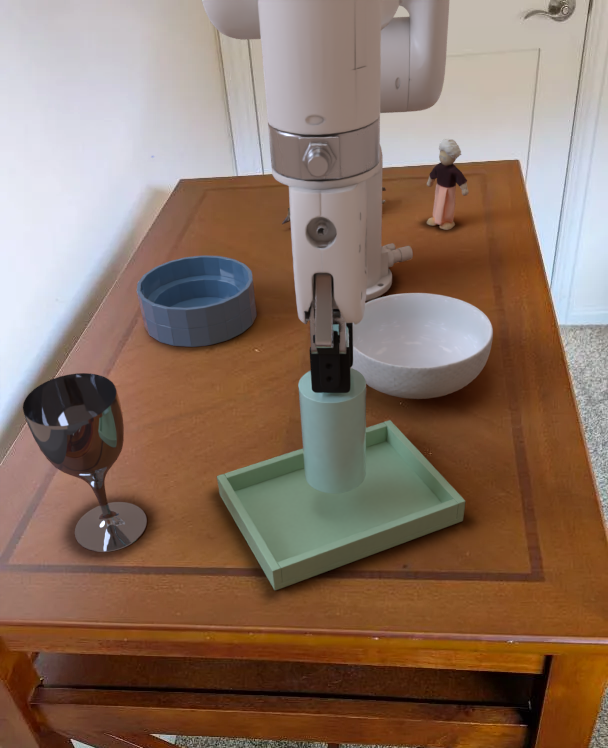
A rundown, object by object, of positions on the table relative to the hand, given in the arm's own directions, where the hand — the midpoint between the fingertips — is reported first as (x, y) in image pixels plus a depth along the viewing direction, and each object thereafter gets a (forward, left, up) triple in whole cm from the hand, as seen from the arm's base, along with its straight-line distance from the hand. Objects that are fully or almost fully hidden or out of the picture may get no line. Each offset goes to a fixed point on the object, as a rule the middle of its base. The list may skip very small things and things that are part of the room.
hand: (332, 376), depth 65 cm
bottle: (0, 0, -11) cm, 11 cm away
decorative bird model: (-31, -64, -15) cm, 73 cm away
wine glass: (+21, -8, -15) cm, 27 cm away
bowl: (0, -42, -15) cm, 45 cm away
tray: (0, 0, -15) cm, 15 cm away
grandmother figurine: (-44, -52, -15) cm, 70 cm away
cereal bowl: (-18, -16, -15) cm, 29 cm away
